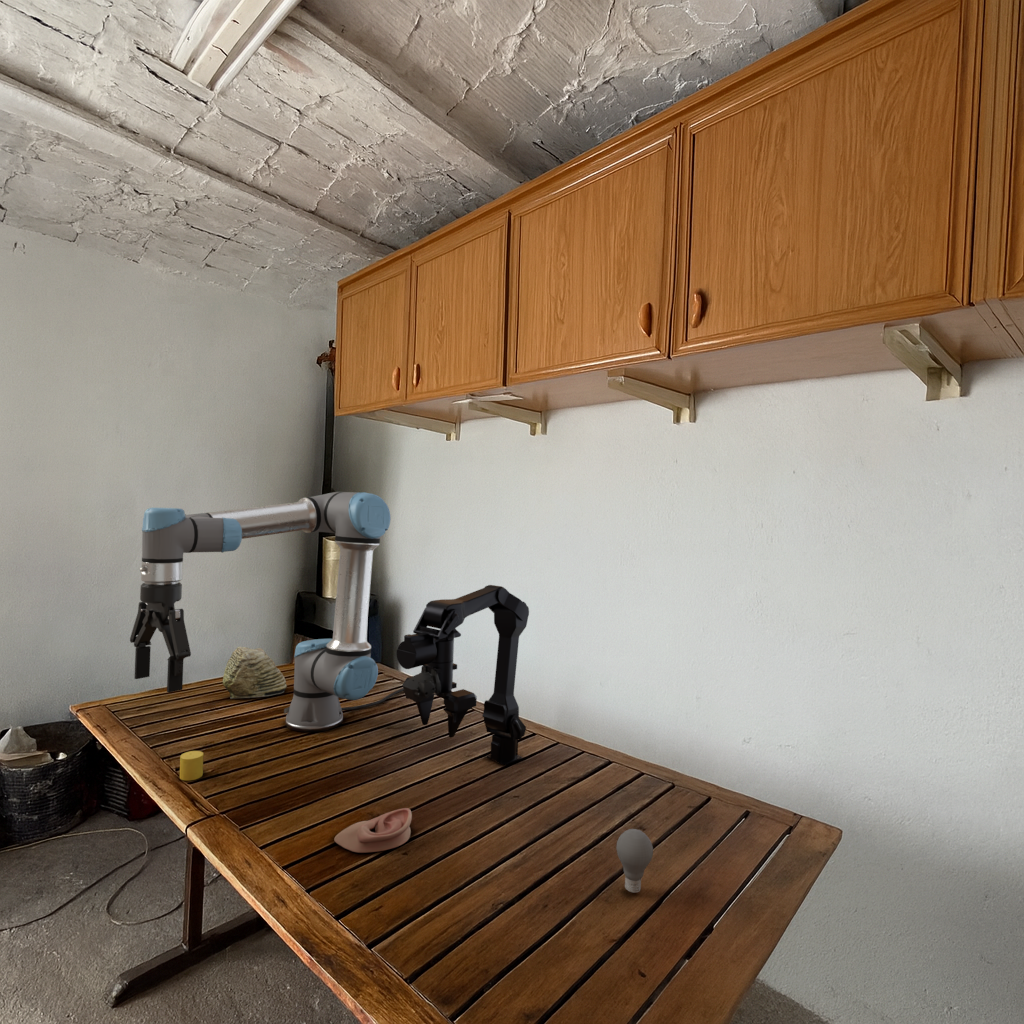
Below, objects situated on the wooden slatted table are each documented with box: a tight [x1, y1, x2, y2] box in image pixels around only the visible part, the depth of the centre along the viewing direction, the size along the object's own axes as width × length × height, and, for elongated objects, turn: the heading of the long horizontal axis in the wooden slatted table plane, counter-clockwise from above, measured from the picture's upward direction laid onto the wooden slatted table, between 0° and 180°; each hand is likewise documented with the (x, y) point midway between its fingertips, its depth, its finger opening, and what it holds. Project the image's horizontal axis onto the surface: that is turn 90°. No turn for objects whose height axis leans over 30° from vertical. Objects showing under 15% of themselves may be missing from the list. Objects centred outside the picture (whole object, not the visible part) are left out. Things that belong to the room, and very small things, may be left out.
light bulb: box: [615, 828, 654, 894], centre depth 106 cm, size 6×6×10 cm
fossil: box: [222, 646, 288, 699], centre depth 198 cm, size 9×18×15 cm, turn 132°
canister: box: [179, 750, 204, 782], centre depth 141 cm, size 5×5×5 cm
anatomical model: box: [333, 807, 413, 854], centre depth 119 cm, size 13×4×12 cm
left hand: (157, 684), depth 132 cm, fingers open, 13 cm apart
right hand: (437, 730), depth 138 cm, fingers open, 9 cm apart
